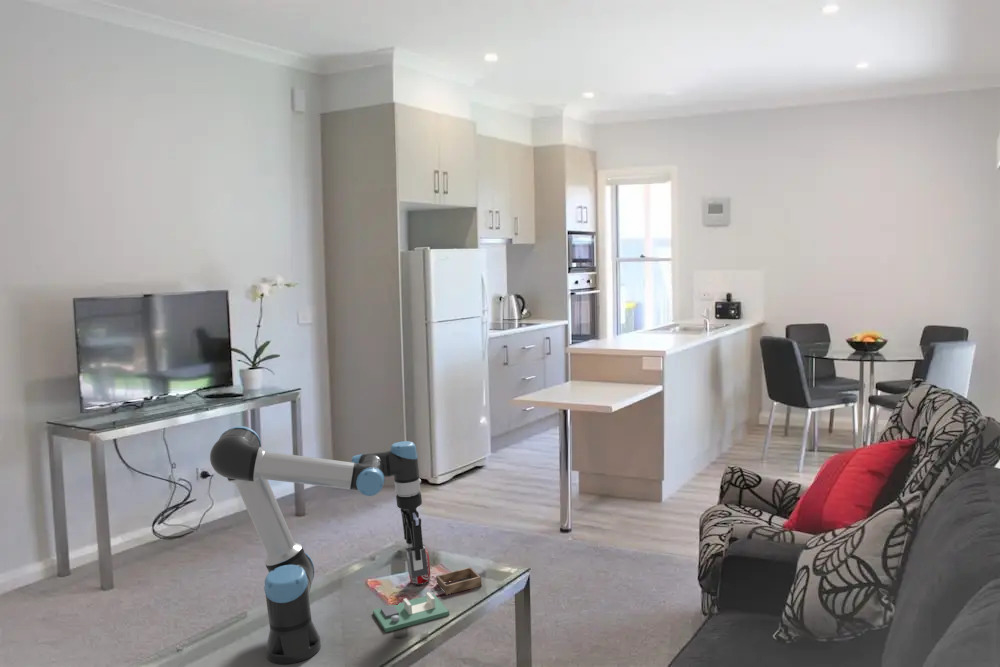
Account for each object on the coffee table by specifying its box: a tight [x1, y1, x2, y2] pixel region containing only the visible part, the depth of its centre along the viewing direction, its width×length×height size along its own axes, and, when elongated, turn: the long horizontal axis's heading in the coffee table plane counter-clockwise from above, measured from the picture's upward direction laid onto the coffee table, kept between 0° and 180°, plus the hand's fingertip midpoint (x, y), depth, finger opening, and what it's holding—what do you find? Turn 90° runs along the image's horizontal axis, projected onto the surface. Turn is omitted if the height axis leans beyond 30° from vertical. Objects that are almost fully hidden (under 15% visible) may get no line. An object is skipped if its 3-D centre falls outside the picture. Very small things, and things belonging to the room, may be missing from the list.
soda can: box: [408, 543, 431, 585], centre depth 279 cm, size 7×7×12 cm
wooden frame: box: [435, 566, 482, 596], centre depth 274 cm, size 12×9×3 cm
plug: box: [405, 547, 428, 578], centre depth 255 cm, size 5×4×8 cm
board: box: [372, 591, 450, 633], centre depth 256 cm, size 20×14×4 cm
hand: (416, 566), depth 255 cm, fingers closed on plug, 4 cm apart
